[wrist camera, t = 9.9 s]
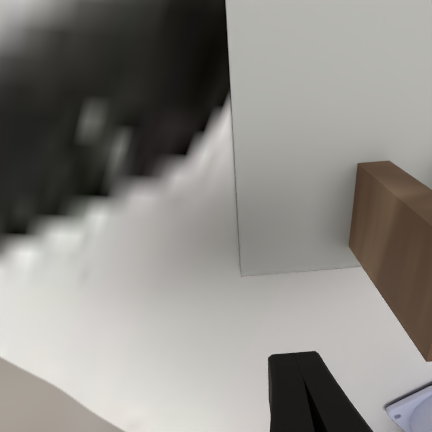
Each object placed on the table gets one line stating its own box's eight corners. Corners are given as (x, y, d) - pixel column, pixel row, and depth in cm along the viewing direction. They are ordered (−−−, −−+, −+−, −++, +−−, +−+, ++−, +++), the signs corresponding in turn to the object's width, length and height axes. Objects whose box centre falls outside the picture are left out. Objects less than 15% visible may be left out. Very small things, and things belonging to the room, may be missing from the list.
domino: (389, 160, 18) (510, 244, 11) (376, 244, 20) (469, 358, 13) (357, 163, 18) (457, 248, 11) (348, 246, 20) (426, 361, 13)
